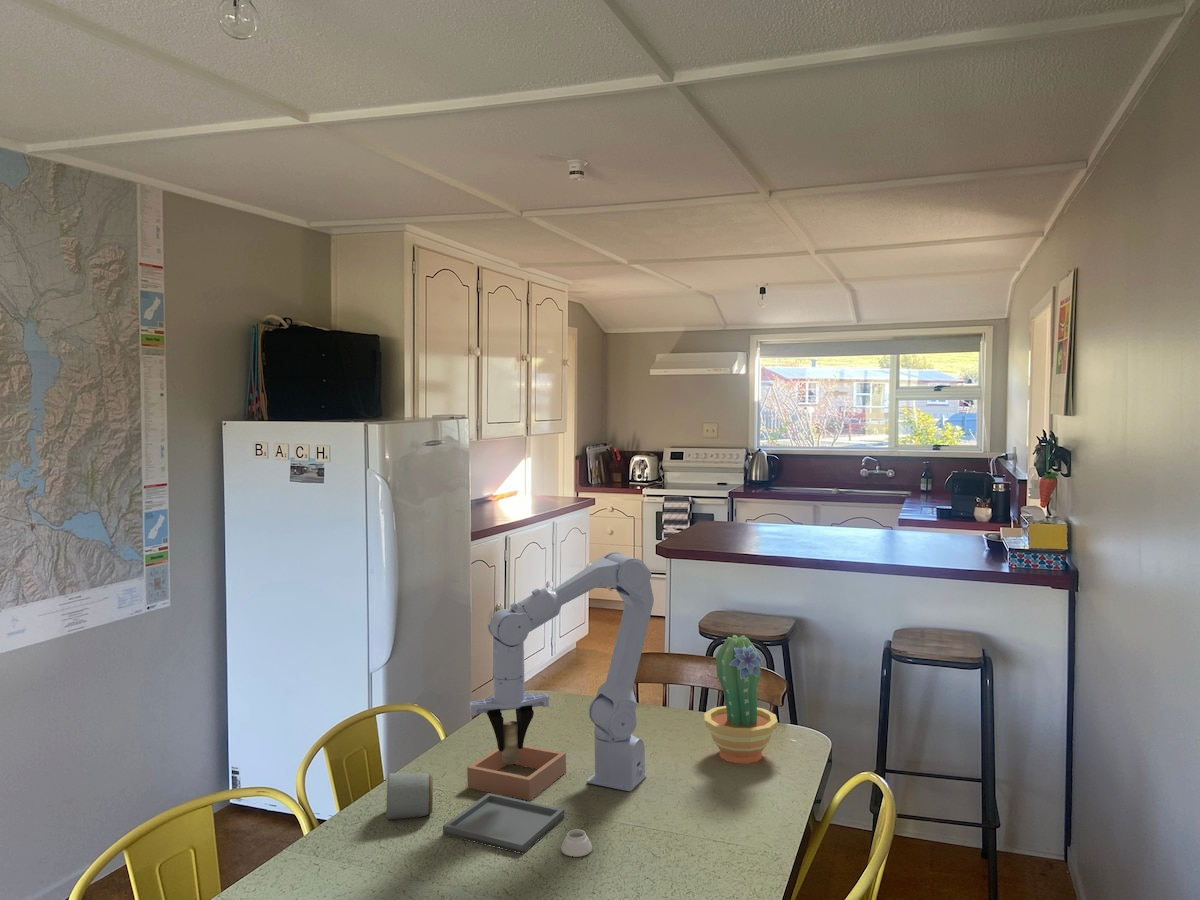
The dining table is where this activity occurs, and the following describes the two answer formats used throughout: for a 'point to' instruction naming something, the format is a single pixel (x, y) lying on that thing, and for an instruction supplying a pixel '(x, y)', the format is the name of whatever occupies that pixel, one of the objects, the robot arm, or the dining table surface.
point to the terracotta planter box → (517, 786)
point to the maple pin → (510, 742)
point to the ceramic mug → (409, 795)
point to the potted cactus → (740, 704)
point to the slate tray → (504, 822)
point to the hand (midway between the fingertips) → (510, 748)
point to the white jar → (576, 843)
